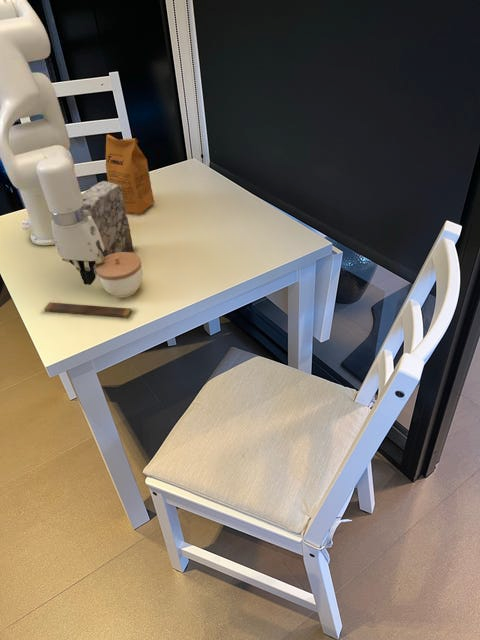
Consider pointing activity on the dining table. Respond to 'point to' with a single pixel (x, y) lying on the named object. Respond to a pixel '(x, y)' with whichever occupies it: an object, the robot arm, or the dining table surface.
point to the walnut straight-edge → (88, 310)
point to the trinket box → (120, 273)
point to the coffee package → (129, 173)
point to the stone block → (109, 217)
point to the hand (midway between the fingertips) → (90, 281)
